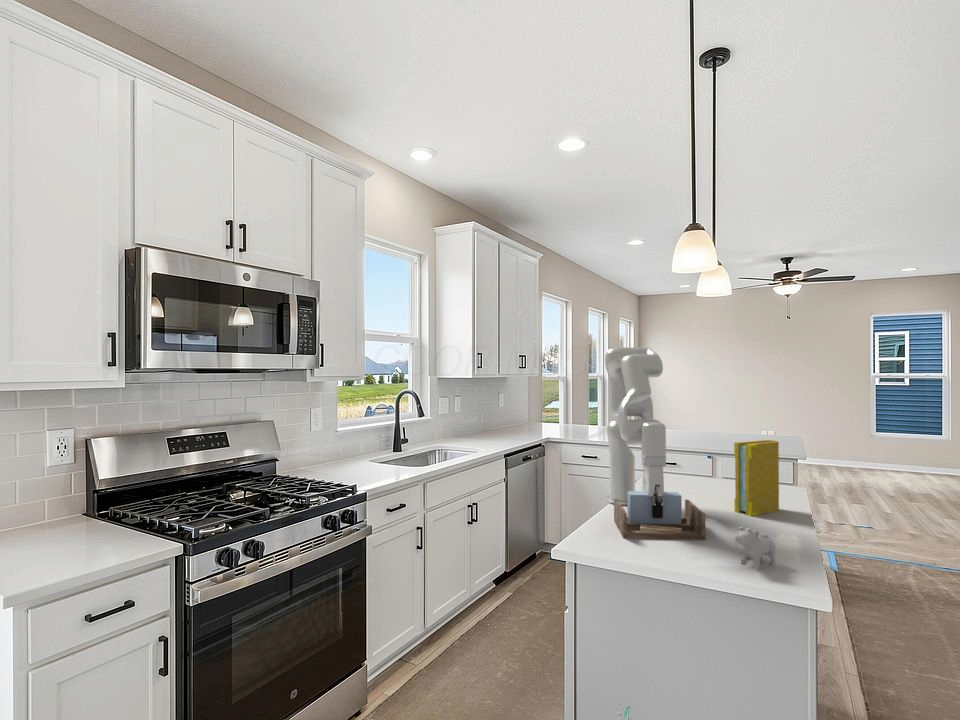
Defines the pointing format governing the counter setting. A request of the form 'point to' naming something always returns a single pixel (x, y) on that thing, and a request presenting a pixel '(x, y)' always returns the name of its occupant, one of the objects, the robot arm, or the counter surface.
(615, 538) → the counter surface
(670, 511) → the blue-grey rectangular block
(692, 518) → the rack
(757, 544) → the grey animal figure
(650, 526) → the offcut top
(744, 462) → the book
